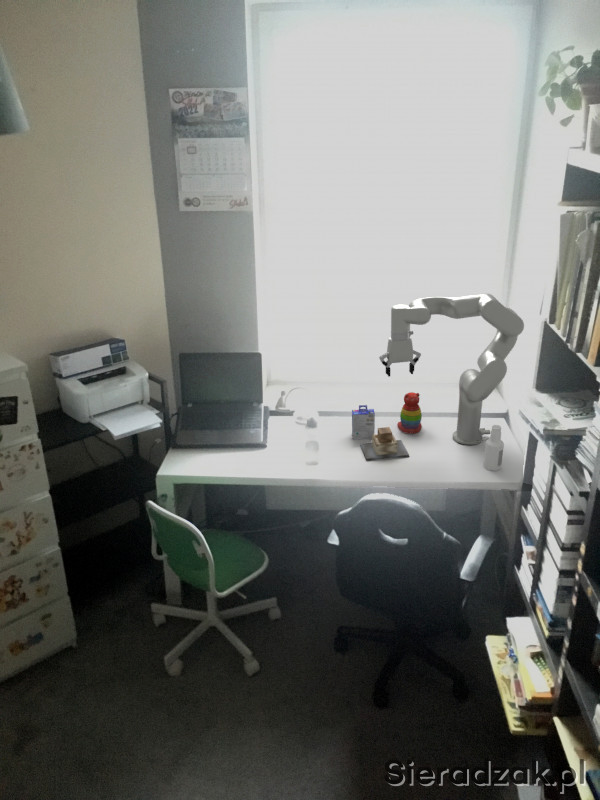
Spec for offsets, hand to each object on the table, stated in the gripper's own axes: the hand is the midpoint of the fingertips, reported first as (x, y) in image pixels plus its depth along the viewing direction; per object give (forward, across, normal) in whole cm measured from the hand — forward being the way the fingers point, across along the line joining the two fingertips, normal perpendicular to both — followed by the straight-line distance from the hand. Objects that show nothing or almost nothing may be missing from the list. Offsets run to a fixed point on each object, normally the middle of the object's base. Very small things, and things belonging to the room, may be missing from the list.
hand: (399, 374), depth 265 cm
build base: (+31, +9, +8) cm, 33 cm away
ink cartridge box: (+31, +14, -7) cm, 35 cm away
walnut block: (+26, +8, +8) cm, 29 cm away
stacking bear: (+32, -8, -10) cm, 34 cm away
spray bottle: (+32, -31, +28) cm, 53 cm away
